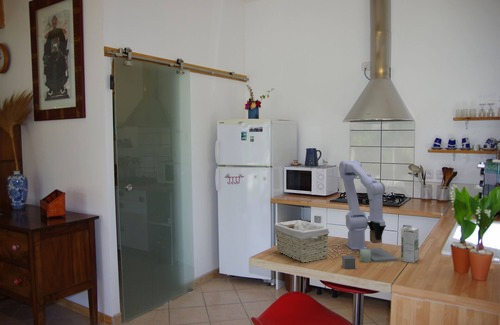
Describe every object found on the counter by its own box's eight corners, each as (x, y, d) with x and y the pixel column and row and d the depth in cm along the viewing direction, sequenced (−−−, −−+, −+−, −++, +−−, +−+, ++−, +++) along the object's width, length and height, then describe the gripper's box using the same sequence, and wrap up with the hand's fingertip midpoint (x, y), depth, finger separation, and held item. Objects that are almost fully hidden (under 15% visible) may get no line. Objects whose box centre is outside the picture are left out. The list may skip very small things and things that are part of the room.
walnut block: (369, 241, 182) (369, 230, 182) (378, 240, 183) (378, 230, 183) (373, 243, 178) (373, 232, 178) (381, 242, 179) (381, 231, 179)
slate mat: (358, 251, 191) (358, 249, 191) (380, 250, 192) (380, 248, 192) (374, 262, 173) (374, 259, 173) (398, 260, 174) (398, 258, 174)
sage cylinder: (359, 260, 177) (358, 249, 176) (368, 259, 177) (368, 248, 177) (362, 263, 172) (362, 251, 172) (372, 262, 173) (372, 251, 172)
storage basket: (331, 259, 180) (330, 226, 179) (302, 264, 172) (301, 231, 172) (300, 248, 201) (300, 219, 200) (273, 252, 193) (272, 222, 193)
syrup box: (405, 258, 177) (404, 226, 177) (419, 260, 174) (418, 227, 173) (401, 261, 173) (400, 228, 173) (415, 263, 169) (414, 229, 169)
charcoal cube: (342, 266, 169) (342, 255, 169) (352, 265, 169) (352, 255, 169) (344, 269, 164) (344, 258, 164) (355, 268, 164) (355, 258, 164)
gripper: (361, 207, 187) (362, 235, 187) (373, 212, 173) (374, 242, 173) (376, 206, 188) (376, 234, 188) (389, 211, 173) (389, 241, 174)
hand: (376, 238), depth 181 cm, fingers closed on walnut block, 4 cm apart
